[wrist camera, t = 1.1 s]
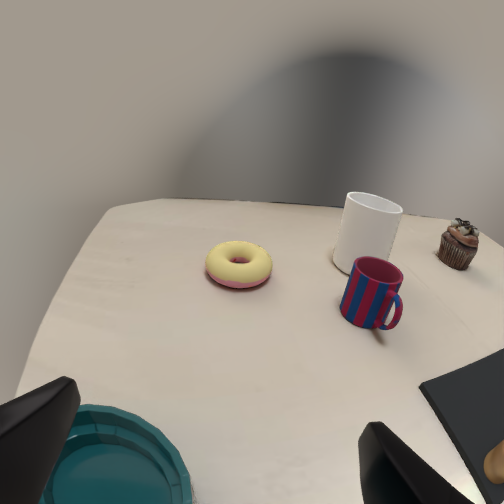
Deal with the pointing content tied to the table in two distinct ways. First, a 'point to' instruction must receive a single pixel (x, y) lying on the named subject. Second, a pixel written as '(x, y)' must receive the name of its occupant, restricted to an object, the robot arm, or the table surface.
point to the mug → (366, 229)
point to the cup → (372, 293)
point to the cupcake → (459, 244)
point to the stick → (495, 464)
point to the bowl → (117, 462)
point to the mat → (473, 414)
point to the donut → (238, 274)
